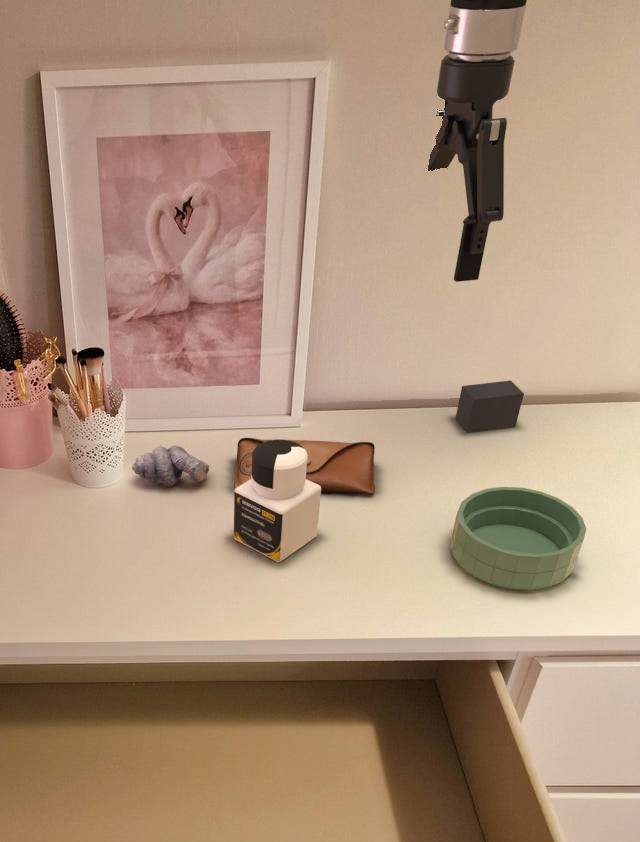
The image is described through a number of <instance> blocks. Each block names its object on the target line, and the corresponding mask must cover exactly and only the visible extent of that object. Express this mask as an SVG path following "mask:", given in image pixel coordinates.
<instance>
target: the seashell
mask: <svg viewBox="0 0 640 842" xmlns="http://www.w3.org/2000/svg"><path fill="white" fill-rule="evenodd" d="M131 470H132V471H134V473H135V475H138V476H139V477H140V478H142V479H147V481H148V482H150V483H151V484H153V485H158V484H160V483H161V484H162V485H163V486H165V487H166V488H171V487H173V486H174V485H177V484H179V482H180V479H181V477H182V475H183V472H184V473H186V474H188V475H189V476H190V477H191V478H192V479H195V480H196V481H197V482H200V483H201V482H202V481H204V480H205V479H206V478H207V476H208V473H209V471H210V464H209V463H208V462H207V463H206V462H205V461H202V460H201V459H198V458H197V457H195V456H194V455H192V454H190V453H188V452H187V451H186V450H185V448H184V447H183V446H178V445H175V444H174V445H172V446H169V447H168V448H167V447H165V446H161V445H159V446H157V447H155V448H154V449H153V450H152V451H151V452H146V453H143V454H142V455H138V456H137V457H136V458H135V462H134V463H133V464H132V466H131Z"/></svg>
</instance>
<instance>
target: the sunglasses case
mask: <svg viewBox="0 0 640 842" xmlns="http://www.w3.org/2000/svg"><path fill="white" fill-rule="evenodd" d="M269 440H270V439H261V438H255V437H242V438H240V439H239V440H238V442H237V450H236V451H237V452H236V459H235V460H236V461H235V470H234V475H235V476H234V484H233V487H234V490H235V489H236V488H237V487H239V486H240V485H242V484H244V483H245V482H247V481H249V480H250V479H251V473H252V452H253V450H254V449H255V448H256V447H257V446H258V445H259V444H261V443H263V442H266V441H269ZM288 440H289V441H293V442H296V443H298V444H300V445H301V446H302V447H303V448H304V449H305V450H306V452H307V468H306V479H307V480H309V481H311V482H313V483H315V484H318V485H320V486H321V494H339V495H340V494H341V495H373V494H374V493H375V492H376V486H375V462H374V461H375V448H376V447H375V444H374V443H373V442H370V441H355V442H342V441H328V440H327V441H326V440H307V439H306V440H305V439H288Z"/></svg>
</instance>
